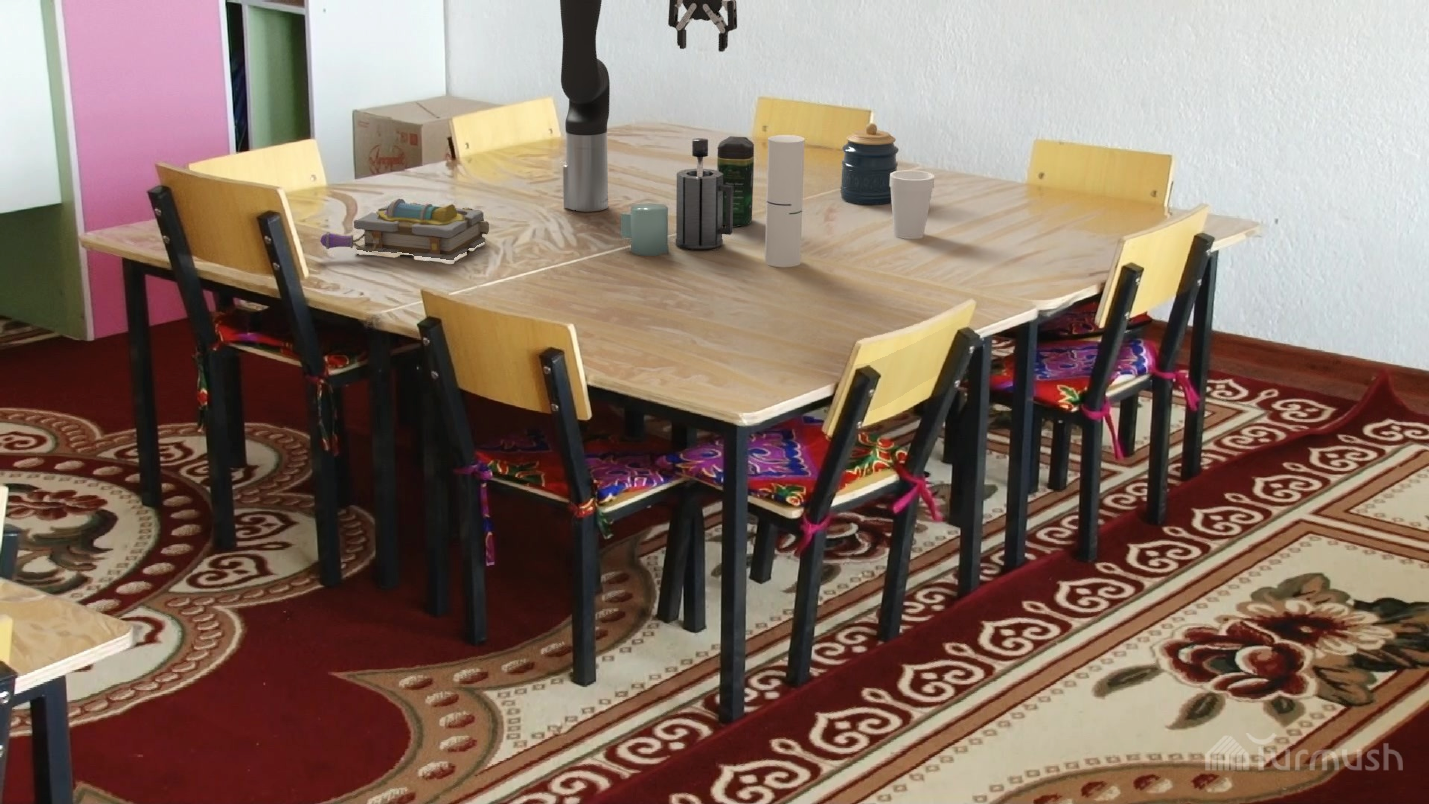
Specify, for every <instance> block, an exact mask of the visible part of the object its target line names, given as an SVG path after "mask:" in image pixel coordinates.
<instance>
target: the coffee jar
mask: <svg viewBox="0 0 1429 804" xmlns="http://www.w3.org/2000/svg"><path fill="white" fill-rule="evenodd" d="M754 145H755V144H754V142H753V141H752V140H750V139H748V137H746V136H732V135H731V136H728V137H727V138H725V139H722V140H721V141H720V142H719V143H718V145H717V147H716V149H717V155H716V156H717V157H716V158H717V159H716V160H717V161H716V165H717V166H716V170H717V171H719V172H721V173H723V185H733V228H737V227H740V226H744V227H746V226H748V225H750V223H751V221H752V219H753V199H754V198H753V196H754V194H753V193H754V177H755V176H754V173H755V172H754V171H755V170H754V167H755V165H754V163H755V146H754ZM722 226H726V192H725V191H723V217H722Z"/></svg>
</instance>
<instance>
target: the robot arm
mask: <svg viewBox="0 0 1429 804" xmlns="http://www.w3.org/2000/svg"><path fill="white" fill-rule="evenodd" d="M602 1H603V0H559V4H560V5H559V7H560V9H559V10H560V20H561V31H562V52H561V53H562V55H561V56H562V57H561V68H560V69H561V73H560V84H561V85H560V86H561V88H562V91H563V93H564V95H565V96H566V97H567V98H568V111H567V115H566V117H565V125H564V126H565V128H564V129H565V160H566V161H565V162H566V164H565V165H562V183H563V185H562V186H563V187H562V188H563V189H562V192H563V194H562V195H563V208H564V207H565V208H564V209H569V210H571V211H575V210H576V211H575V212H598V211H603V210H606V209H608V208H609V177H608V173H609V171H608V169H609V168H608V166H609V165H608V161H609V160H608V123H609V122H608V121H609V118H610V117H609V116H610V97H611V96H610V92H611V91H610V83H611V82H610V75H609V70H608V68H607V67H606V65H605V64H604V62H603V61H602V60H600V59H599V58H598V55H597V41H596V40H597V30H598V25H599V20H600V14H601V8H602ZM682 5H683V7H684V8H685V10H686V12H685V13H684V14H683V16H682V17H681V19H680V20H679V9H680V8H681V7H682ZM722 7H723V8H724V10H725V11H726V12H727V13H726V14H727V23H726V20H725V18H724V17H723V15H722V14H721V12H720V10H721V9H722ZM737 7H738V6H737V0H669V4H668V19H667V20H668V23H667V24H668V26H669V27H672V28H674V29H675V30H676V39H677V40H676V44H677V46H679V49H680V50H685V49H687V26H688V25H689V24H690V22H691V21H692V20H694V21H699V20H703V21H709V22H710V21H711V22H712V23H713V25H715V27H716V28H717V29H718V31H719V33H718V52H719V53H722V52H725V51H726V49H727V48H728V45H729V32H731V31H733V30H736V29H738V14H737V13H738V11H737V10H738V9H737Z"/></svg>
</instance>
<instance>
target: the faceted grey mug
mask: <svg viewBox="0 0 1429 804" xmlns="http://www.w3.org/2000/svg"><path fill="white" fill-rule="evenodd" d="M723 191H725V192H726V225H725V227H724V226H723V225H722V217H723ZM675 217H676V223H675V225H676V227H675V228H676V230H675V233H676V235H675V236H676V238H675V246H676V248H679V249H682V250H685V251H691V252H693V251H694V252H708V251H709V252H710V251H714V250H718V249H720V248H722V247H723V242H724V241H723V235H727V236H731V235H732V234H733V232H734V231H733V230H734V229H733V228H734V227H733V185H723V173H721V172H719V171H717V169H711V168H703V177H697V168H690V169H683V170H682V169H681V170H680V171H678V172H677V173H676V216H675Z"/></svg>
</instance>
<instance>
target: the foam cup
mask: <svg viewBox="0 0 1429 804" xmlns="http://www.w3.org/2000/svg"><path fill="white" fill-rule="evenodd" d="M934 187H935V175H934V173H931V172H928V171H922V170H916V169H915V170H914V169H913V170H911V169H910V170H909V169H908V170H907V169H905V170H897V171H895V172H892V173H890V188H891V201H892V202H891V210H892V211H891V212H892V224H893V225H892V226H893V227H892V228H893V235H894V236H895V237H896V238H901V239H904V240H905V239H908V240H914V239H915V240H917V239H922V238H923V237H924V234H925V229H926V225H927V219H928V215H929V209H930V205H931V199H932V194H933V189H934Z"/></svg>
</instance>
